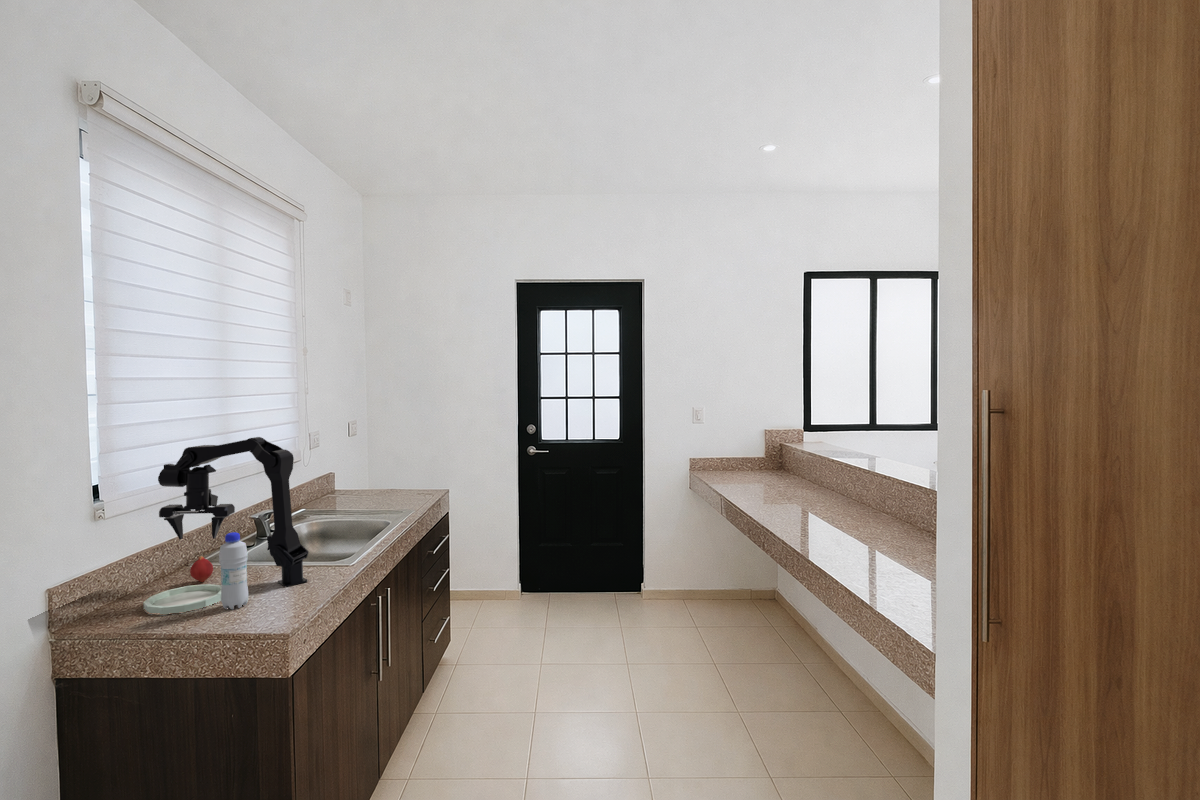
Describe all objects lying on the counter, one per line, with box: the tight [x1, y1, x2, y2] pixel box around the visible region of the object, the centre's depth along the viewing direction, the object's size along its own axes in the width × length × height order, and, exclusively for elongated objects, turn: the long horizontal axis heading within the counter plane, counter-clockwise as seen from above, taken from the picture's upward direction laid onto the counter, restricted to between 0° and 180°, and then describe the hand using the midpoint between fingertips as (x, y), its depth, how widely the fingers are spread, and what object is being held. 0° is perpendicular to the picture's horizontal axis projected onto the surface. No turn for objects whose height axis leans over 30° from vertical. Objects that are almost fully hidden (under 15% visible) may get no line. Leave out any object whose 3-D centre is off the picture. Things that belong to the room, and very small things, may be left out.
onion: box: [189, 555, 214, 583], centre depth 185 cm, size 6×6×8 cm
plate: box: [143, 583, 222, 614], centre depth 167 cm, size 18×18×2 cm
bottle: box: [218, 531, 249, 610], centre depth 163 cm, size 7×7×20 cm
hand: (197, 538), depth 185 cm, fingers open, 9 cm apart
